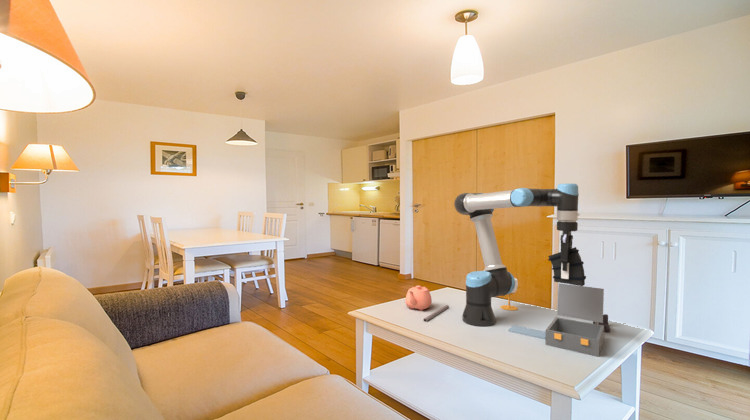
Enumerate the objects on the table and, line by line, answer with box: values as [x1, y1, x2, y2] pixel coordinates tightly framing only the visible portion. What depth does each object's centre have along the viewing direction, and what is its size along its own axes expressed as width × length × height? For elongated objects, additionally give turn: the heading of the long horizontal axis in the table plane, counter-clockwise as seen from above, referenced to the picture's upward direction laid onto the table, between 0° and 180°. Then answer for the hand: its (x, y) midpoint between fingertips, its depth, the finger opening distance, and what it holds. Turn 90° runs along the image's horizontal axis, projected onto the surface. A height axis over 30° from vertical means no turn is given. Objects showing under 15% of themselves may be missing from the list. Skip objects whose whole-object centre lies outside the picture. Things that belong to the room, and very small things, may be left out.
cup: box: [500, 277, 519, 311], centre depth 187 cm, size 9×9×16 cm
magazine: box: [547, 246, 587, 286], centre depth 142 cm, size 4×13×15 cm, turn 45°
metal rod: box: [422, 304, 450, 323], centre depth 177 cm, size 2×27×2 cm, turn 146°
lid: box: [556, 282, 605, 323], centre depth 149 cm, size 17×14×1 cm
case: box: [545, 317, 605, 358], centre depth 141 cm, size 18×25×16 cm
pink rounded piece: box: [404, 285, 432, 312], centre depth 187 cm, size 13×20×12 cm, turn 148°
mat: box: [507, 324, 546, 340], centre depth 151 cm, size 15×8×1 cm, turn 52°
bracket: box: [592, 313, 611, 334], centre depth 157 cm, size 6×12×5 cm, turn 151°
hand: (565, 277), depth 142 cm, fingers closed on magazine, 4 cm apart
